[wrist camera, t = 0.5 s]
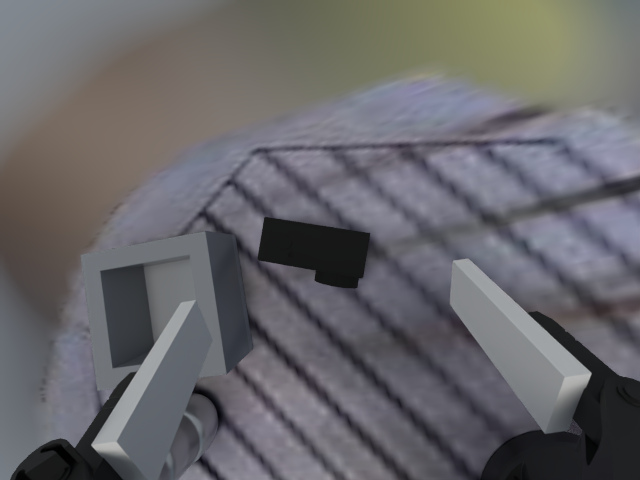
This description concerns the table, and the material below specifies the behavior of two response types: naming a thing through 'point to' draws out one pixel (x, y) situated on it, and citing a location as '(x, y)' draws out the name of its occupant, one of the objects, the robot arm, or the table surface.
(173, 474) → the plastic bottle
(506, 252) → the table surface
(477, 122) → the table surface
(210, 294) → the well
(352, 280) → the digital camera
